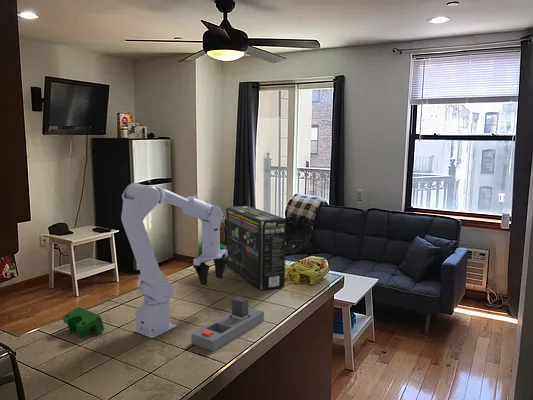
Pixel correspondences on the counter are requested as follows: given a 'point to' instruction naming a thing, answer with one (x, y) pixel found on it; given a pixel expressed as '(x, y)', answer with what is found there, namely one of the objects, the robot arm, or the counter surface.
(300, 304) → the counter surface
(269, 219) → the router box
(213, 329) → the power strip
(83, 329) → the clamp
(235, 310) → the plug
